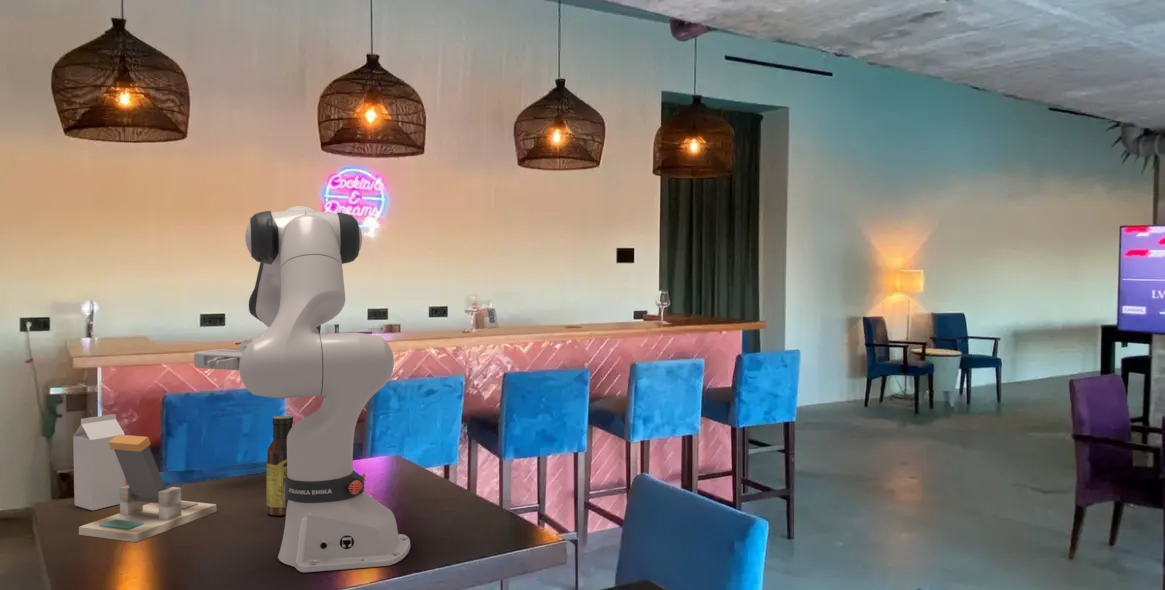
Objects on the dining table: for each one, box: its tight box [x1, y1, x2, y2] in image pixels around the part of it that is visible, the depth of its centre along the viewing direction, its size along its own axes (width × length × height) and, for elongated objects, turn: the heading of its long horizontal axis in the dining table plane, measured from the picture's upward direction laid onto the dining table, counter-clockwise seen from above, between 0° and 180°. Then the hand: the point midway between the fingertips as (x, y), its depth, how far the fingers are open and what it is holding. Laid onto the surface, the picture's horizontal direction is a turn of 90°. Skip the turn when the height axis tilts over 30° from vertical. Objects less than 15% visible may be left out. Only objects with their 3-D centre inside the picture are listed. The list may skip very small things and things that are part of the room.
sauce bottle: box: [265, 415, 294, 517], centre depth 168 cm, size 7×6×20 cm
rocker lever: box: [108, 434, 167, 503], centre depth 159 cm, size 3×7×14 cm, turn 72°
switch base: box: [78, 484, 218, 543], centre depth 162 cm, size 20×14×7 cm
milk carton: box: [72, 413, 127, 511], centre depth 174 cm, size 7×7×19 cm
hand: (212, 365), depth 177 cm, fingers closed
